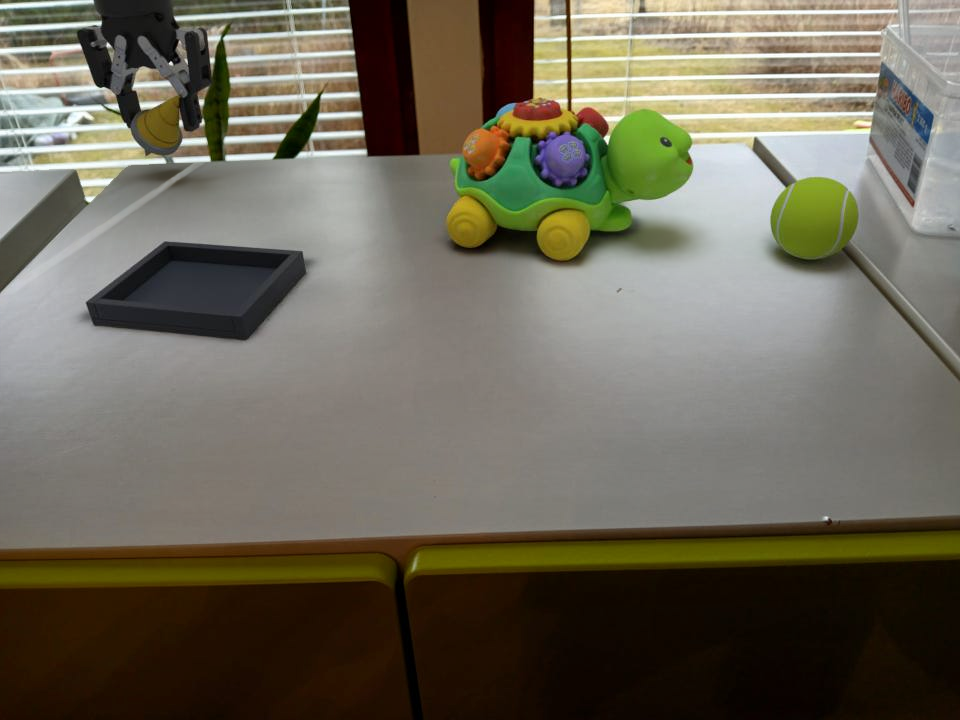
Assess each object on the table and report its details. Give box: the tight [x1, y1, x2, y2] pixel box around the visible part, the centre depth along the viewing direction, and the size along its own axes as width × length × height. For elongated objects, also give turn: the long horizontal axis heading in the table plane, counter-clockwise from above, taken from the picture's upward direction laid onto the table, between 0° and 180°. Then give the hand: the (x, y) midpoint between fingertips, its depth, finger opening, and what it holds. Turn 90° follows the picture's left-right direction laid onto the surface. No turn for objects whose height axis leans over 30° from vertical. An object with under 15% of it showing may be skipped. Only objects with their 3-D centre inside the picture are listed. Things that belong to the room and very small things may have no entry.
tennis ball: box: [770, 176, 859, 261], centre depth 68 cm, size 7×7×7 cm
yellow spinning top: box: [130, 94, 184, 157], centre depth 87 cm, size 5×5×10 cm
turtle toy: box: [445, 97, 694, 262], centre depth 74 cm, size 17×23×12 cm
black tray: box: [85, 240, 307, 340], centre depth 67 cm, size 14×12×2 cm
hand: (163, 127), depth 88 cm, fingers closed on yellow spinning top, 6 cm apart
